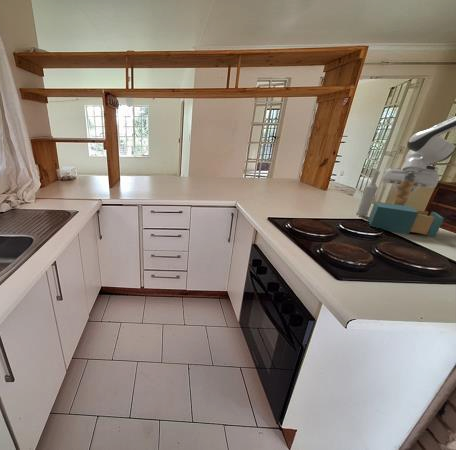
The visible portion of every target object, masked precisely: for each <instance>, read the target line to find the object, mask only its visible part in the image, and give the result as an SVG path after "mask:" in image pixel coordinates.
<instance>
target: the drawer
mask: <svg viewBox="0 0 456 450" xmlns="http://www.w3.org/2000/svg"><path fill="white" fill-rule="evenodd" d="M415 210H416V211H417V212H418V215H417V217H416V219H415V221H414V223H413V226H412V228H411V230H410V232H409V233H416V234H421V235H429V236H430V237H432V238H435V237H436V236H437V234H438V232H439V230H440V228H441V226H442V224H443V222H444V219H445V218H444V217H443V216H442V215H440V214H439V213H437V212H435V211H431V213H430V214H429V211H425V210H418V209H415Z"/></svg>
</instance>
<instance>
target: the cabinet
mask: <svg viewBox="0 0 456 450" xmlns="http://www.w3.org/2000/svg"><path fill="white" fill-rule="evenodd" d="M416 210H417V209H415V208H414V207H413V206H409V205H405V206H403V205H396V204H392V203H388V202H383V201H374V203H373V206H372V207H371V210H370V214H369V216H368V219H367V222H369V223H368V225H369V224H370V225H369V227H370V226H372V227H377V228H381V229H380V230H382V229H383V231H387V232H392V233H393V232H394V233H397V234H398V233H399V234H404V235H409V234H410V233H411V232H410V230H411V228H412V226H413V223H414V221H415V219H416V217H417V215H418V212H417V211H416ZM377 228H376V229H377Z"/></svg>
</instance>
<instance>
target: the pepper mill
mask: <svg viewBox="0 0 456 450" xmlns="http://www.w3.org/2000/svg"><path fill="white" fill-rule="evenodd" d="M414 175H415V173H414V172H409V173H408V175H405V177H404V180H402V181H401V184H399V185H398V186H399V189H398V190H396V194H395V196H394V199H393V201H392V203H391V204H396V205H403V206H406V204H407V202H408V199H409V197H410V195H411V193H412V192H411V190H412V188H414V186H413V185H414V183H415V182H414V180H415V177H416V176H414Z"/></svg>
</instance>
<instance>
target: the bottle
mask: <svg viewBox="0 0 456 450" xmlns="http://www.w3.org/2000/svg"><path fill="white" fill-rule="evenodd" d="M380 173H381V171H380V170H375V171H374V173H373V176H372V179H371V181H370V183H369V184H367V185H365V187H364V190H363V192H362V196H361V199H360V203H359V206H358V208H357V210H356V212H355V215H356V216H358V215H359V216H358V217H362V216H367V217H368V215H369V211H370V208H371V206H372V203H373V201H374V199H375V196H376V194H377V191H378V189H379V187H378V186H377V184H376V183H377V181H378V178H379V175H380Z"/></svg>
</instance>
